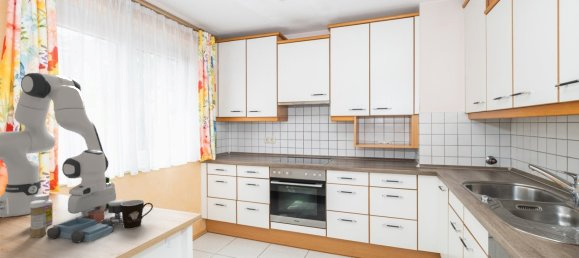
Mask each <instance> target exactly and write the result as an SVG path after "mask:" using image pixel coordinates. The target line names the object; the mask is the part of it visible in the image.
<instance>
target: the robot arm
mask: <svg viewBox="0 0 579 258" xmlns="http://www.w3.org/2000/svg"><path fill="white" fill-rule="evenodd" d="M20 87H21V90H22V91H21V93H20V96H19V98H18V100H17V104H16V108H15V112H14V116H13V117H14V119H15V121H16V122H17V123H18V124H20V125H23V126H24V129H23V130H22V131H21V130H17V131H2V132H0V160H1V161H2V162H3V163H4V165H5V168H6V171H7V172H6V173H7V184H6V185H4V188H5V190H4V192H3V193H2V194H1V195H0V217H2V218H8V217H17V216H24V215H31V208H30V203H31V202H33V201H35V196H36V195H39V194H44V191H43V190H42V189H41V187H42V186H41V185H42V183H41V180H40V165H39V164H38V163H36V162H34V161H31V160H29V159H28V157H27V155H29V154H36V153H44V152H46V151H47V152H48V151H50V150H52V149H53V148H54V147H55V145H56V137H55V135H54V134H53V133H52V132H50V131H49V130H48V128H47V124H46V123H47V118H48V113H49V109H50V106H51V101H52V102H53V111H54V117H55V122H56V123H57V124H58V126H60V127H61V128H63V129H64V130H67V131H69V132H73V133H76V134H78V135H80V136H81V137H82V138H83V140H84V141H85V145H86V147H87V149H84V150H83V151H82V152H81V153H80V154H77V155H76V156H72V157H69V158H66V159H65V160H64V162H63V163H62V168H61V170H62V173H63V175H64V177H66V178H68V179H80V178H81V181H80V183H79V184H77V185H75V186H74V187H72V188H70V189H69V191H68V193H69V195H70V196H69V197H68V200H67V211H68V213H69V214H74V215H76V214H79V213H81V215H82V217H83V216H84V217H85V216H88V217H89V218H90V215H88V214H87V212H88V210H89V209H92V208H96V207H99V206H100V207H101V208H100V209H101V211H104V212H105V210H104V209H105V207H106V204H108V203H109V202H111V201H114V200H117V192H116V188H115V184H114V183H113V182H109V183H106V177H107V176H106V175H105V173H106V171H107V170H108V167H109V160H108V157H107V156H106V154H105V152H104V149H103V146H102V143H101V139H100V136H99V134H98V131H97V128H96V125H95V124H94V123H93V121H91V120H90V119H89V117H88V114H87V113H86V108H85V102H84V99H83V96H82V93H81V91H82V88H81V84H80V82H79V81H78V80H77V79H75V78H73V77H69V76H63V75H60V74H59V75H58V74H47V73H39V72H30V73H26V74H25V75H24V76H23V77H22V79H21V82H20Z"/></svg>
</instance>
